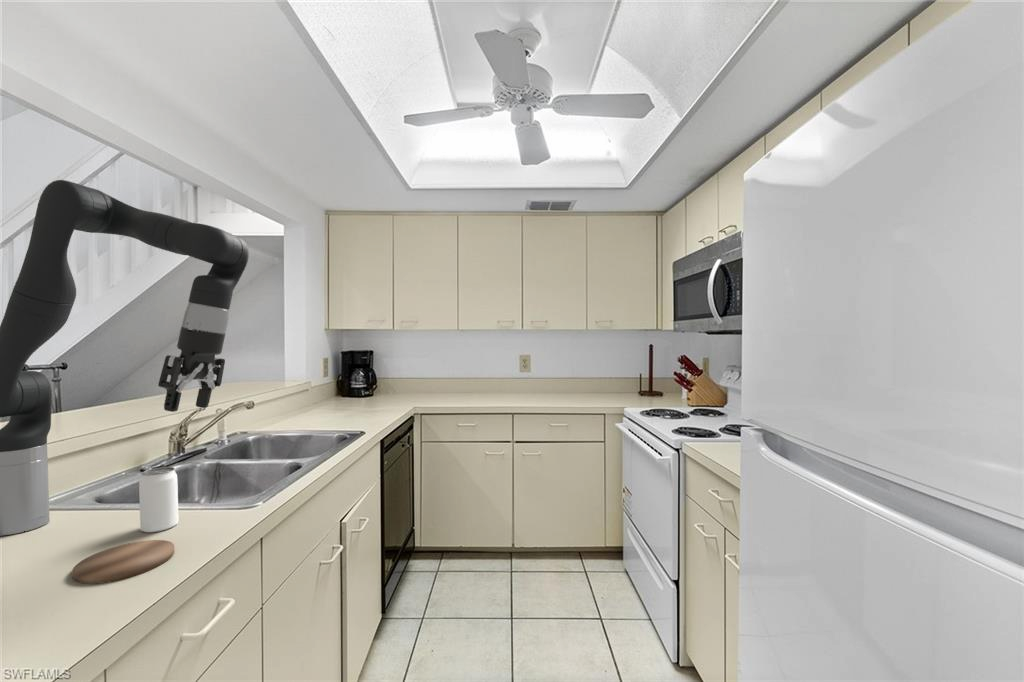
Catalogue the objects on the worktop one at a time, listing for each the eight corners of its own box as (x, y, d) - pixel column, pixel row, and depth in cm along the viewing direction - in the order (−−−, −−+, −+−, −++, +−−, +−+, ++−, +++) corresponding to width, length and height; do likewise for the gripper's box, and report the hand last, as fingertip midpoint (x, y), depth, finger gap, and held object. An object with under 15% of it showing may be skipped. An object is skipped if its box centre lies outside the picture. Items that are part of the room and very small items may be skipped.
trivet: (50, 578, 79) (50, 572, 79) (134, 542, 92) (134, 537, 92) (116, 587, 76) (116, 581, 76) (193, 548, 89) (192, 543, 89)
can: (158, 534, 96) (156, 475, 96) (132, 532, 97) (130, 474, 97) (186, 522, 102) (184, 466, 102) (161, 520, 103) (159, 465, 103)
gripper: (210, 328, 101) (193, 403, 100) (158, 321, 87) (139, 408, 86) (243, 334, 101) (227, 409, 100) (197, 328, 87) (178, 416, 86)
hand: (186, 409), depth 93 cm, fingers open, 8 cm apart
